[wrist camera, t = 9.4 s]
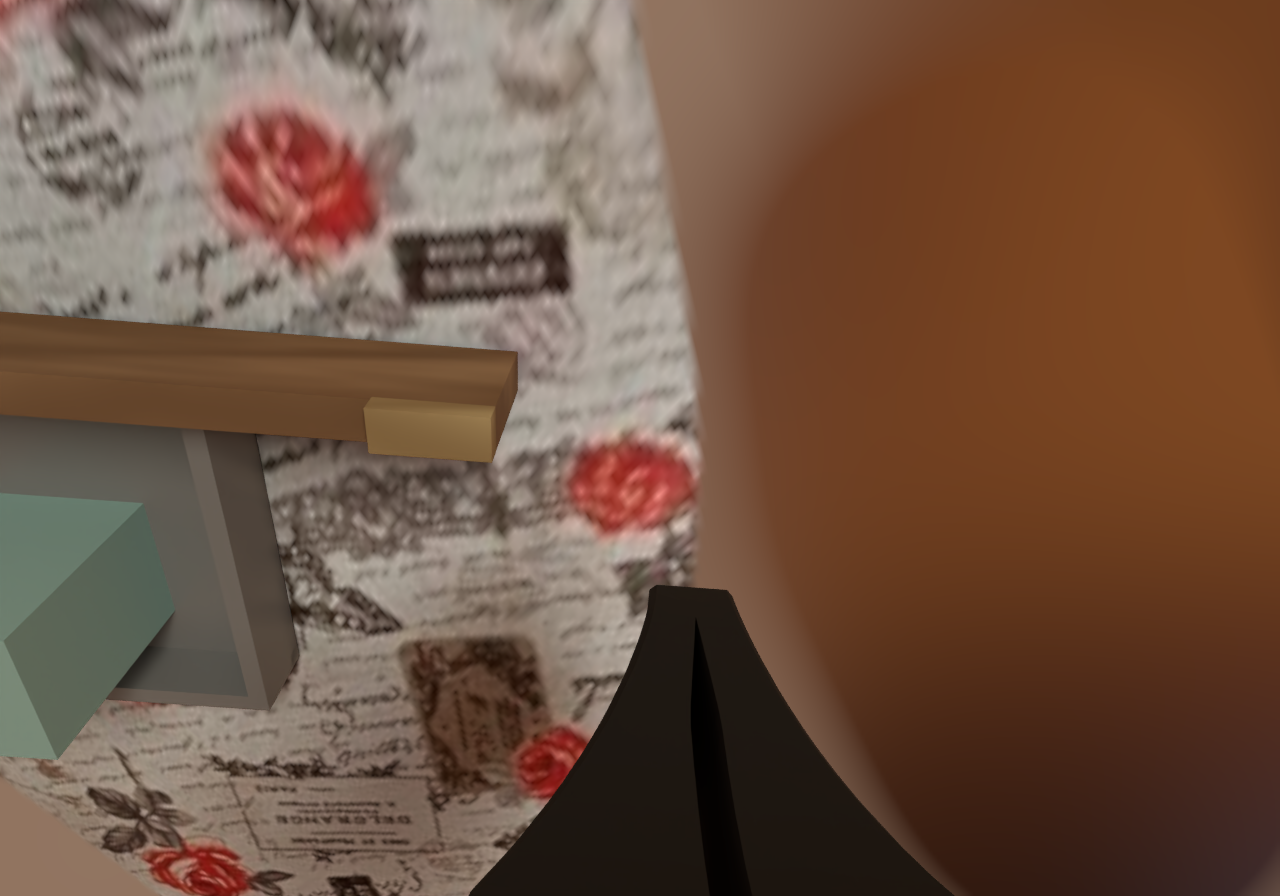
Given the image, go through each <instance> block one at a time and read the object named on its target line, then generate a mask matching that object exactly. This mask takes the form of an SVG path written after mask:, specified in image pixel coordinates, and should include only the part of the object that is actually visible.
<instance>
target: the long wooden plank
mask: <svg viewBox="0 0 1280 896" xmlns="http://www.w3.org/2000/svg"><path fill="white" fill-rule="evenodd" d="M517 391H518V352H514V351H501V350H488V349H475V348H462V347H449V346H436V345H423V344H410V343H397V342H385V341H372V340H359V339H346V338H333V337H320V336H307V335H294V334H281V333H268V332H256V331H243V330H230V329H217V328H204V327H191V326H178V325H165V324H152V323H139V322H127V321H114V320H101V319H88V318H75V317H62V316H49V315H36V314H23V313H10V312H0V414H2V415H15V416H29V417H42V418H55V419H69V420H82V421H95V422H108V423H122V424H135V425H148V426H162V427H175V428H188V429H202V430H215V431H228V432H241V433H255V434H268V435H281V436H295V437H308V438H321V439H335V440H348V441H361V442H367V443H368V452H369V453H370V454H383V455H396V456H410V457H423V458H436V459H450V460H463V461H476V462H490V463H492V461H493V458H494V455H495V453H496V449H497V446H498V444H499V441H500V438H501V435H502V432H503V430H504V427H505V424H506V421H507V419H508V416H509V413H510V410H511V407H512V405H513V402H514V399H515V396H516V394H517Z"/></svg>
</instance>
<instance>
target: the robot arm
mask: <svg viewBox="0 0 1280 896" xmlns="http://www.w3.org/2000/svg"><path fill="white" fill-rule="evenodd" d="M469 896H954V895H953V894H952V893H951V892H950V891H948V890H947V889H946V888H945V887H944V886H943V885H941V884H940V883H939V882H938V881H937V880H936V879H935V878H933V877H932V876H931V875H930V874H929V873H928V872H927V871H926V870H925V869H924V868H923V867H922V866H921V865H920V864H919V863H918V862H917V861H916V860H915V859H914V858H913V857H912V856H911V855H909V854H908V853H907V852H906V851H905V850H904V849H903V848H902V847H901V846H900V845H899V843H898V842H897V841H896V840H895V839H894V838H893V837H892V836H891V835H890V834H889V833H888V831H887V830H886V829H885V828H884V827H883V826H882V825H881V824H880V823H879V822H878V821H877V820H876V819H875V817H874V816H873V815H872V814H871V813H870V812H869V811H868V810H867V809H866V808H865V807H864V806H863V805H862V803H861V802H860V801H859V800H858V799H857V798H856V797H855V795H854V794H853V793H852V792H851V790H850V789H849V788H848V787H847V786H846V784H845V783H844V782H843V781H842V779H841V778H840V777H839V776H838V775H837V773H836V772H835V771H834V770H833V768H832V767H831V766H830V764H829V763H828V762H827V760H826V759H825V758H824V756H823V755H822V754H821V753H820V751H819V750H818V748H817V747H816V746H815V744H814V743H813V742H812V740H811V739H810V737H809V736H808V734H807V733H806V731H805V730H804V729H803V727H802V726H801V724H800V723H799V721H798V720H797V718H796V716H795V715H794V713H793V712H792V710H791V709H790V707H789V706H788V704H787V703H786V701H785V699H784V698H783V696H782V695H781V693H780V691H779V690H778V688H777V686H776V684H775V683H774V681H773V679H772V677H771V675H770V674H769V672H768V670H767V668H766V667H765V665H764V663H763V661H762V660H761V658H760V656H759V654H758V652H757V650H756V648H755V647H754V644H753V642H752V640H751V638H750V636H749V634H748V632H747V630H746V628H745V626H744V623H743V621H742V619H741V617H740V615H739V612H738V610H737V607H736V605H735V603H734V600H733V597H732V595H731V594H730V593H729V592H728V591H727V590H719V589H706V588H692V587H678V586H665V585H656V586H654V587H653V588H651V589H650V590H649V600H648V609H647V614H646V618H645V621H644V625H643V628H642V631H641V634H640V637H639V640H638V643H637V645H636V648H635V650H634V653H633V656H632V658H631V661H630V663H629V666H628V668H627V670H626V673H625V675H624V677H623V679H622V681H621V683H620V685H619V687H618V689H617V691H616V693H615V695H614V698H613V700H612V702H611V704H610V706H609V708H608V710H607V711H606V713H605V715H604V717H603V719H602V721H601V722H600V724H599V726H598V728H597V729H596V731H595V733H594V735H593V736H592V738H591V740H590V741H589V743H588V744H587V746H586V748H585V749H584V751H583V753H582V754H581V756H580V757H579V759H578V760H577V762H576V763H575V765H574V766H573V768H572V769H571V771H570V772H569V774H568V775H567V777H566V778H565V780H564V781H563V783H562V784H561V785H560V787H559V788H558V789H557V791H556V792H555V794H554V795H553V796H552V798H551V799H550V800H549V802H548V803H547V804H546V805H545V807H544V808H543V809H542V810H541V812H540V813H539V814H538V815H537V817H536V818H535V819H534V820H533V822H532V823H531V824H530V825H529V827H528V828H527V829H526V830H525V832H524V833H523V834H522V836H521V837H520V838H519V839H518V840H517V842H516V843H515V844H514V845H513V846H512V847H511V848H510V850H509V851H508V852H507V853H506V854H505V855H504V856H503V857H502V858H501V859H500V860H499V862H498V863H497V864H496V865H495V866H494V867H493V868H492V869H491V870H490V871H489V872H488V873H487V874H486V876H485V877H484V878H483V879H482V880H481V881H480V882H479V883H478V884H477V885H476V886H475V887H474V888H473V890H472V891H471V892H470V894H469Z"/></svg>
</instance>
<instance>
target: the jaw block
mask: <svg viewBox="0 0 1280 896" xmlns="http://www.w3.org/2000/svg"><path fill="white" fill-rule="evenodd" d="M174 611H175V608H174V604H173V601H172V597H171V594H170V591H169V587H168V584H167V581H166V577H165V574H164V571H163V567H162V564H161V561H160V557H159V554H158V551H157V547H156V544H155V541H154V537H153V534H152V531H151V527H150V524H149V521H148V517H147V514H146V511H145V507H144V504H143V503H133V502H119V501H105V500H91V499H77V498H63V497H49V496H35V495H21V494H7V493H0V756H8V757H24V758H39V759H54V760H58V759H59V757H60V756H61V755H62V754H63V752H64V751H65V750H66V748H67V747H68V746H69V745H70V743H71V742H72V741H73V740H74V738H75V737H76V736H77V734H78V733H79V732H80V731H81V729H82V728H83V727H84V726H85V724H86V723H87V722H88V721H89V719H90V718H91V717H92V715H93V714H94V713H95V712H96V710H97V709H98V708H99V707H100V705H101V704H102V703H103V701H104V700H105V699H106V698H107V696H108V695H109V694H110V693H111V691H112V690H113V689H114V687H115V686H116V685H117V684H118V682H119V681H120V680H121V679H122V677H123V676H124V675H125V674H126V672H127V671H128V670H129V668H130V667H131V666H132V665H133V663H134V662H135V661H136V660H137V658H138V657H139V656H140V654H141V653H142V652H143V651H144V649H145V648H146V647H147V646H148V644H149V643H150V642H151V641H152V639H153V638H154V637H155V635H156V634H157V633H158V632H159V630H160V629H161V628H162V627H163V625H164V624H165V623H166V621H167V620H168V619H169V618H170V616H171V615H172V614H173V613H174Z"/></svg>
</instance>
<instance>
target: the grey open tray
mask: <svg viewBox="0 0 1280 896" xmlns="http://www.w3.org/2000/svg"><path fill="white" fill-rule="evenodd" d="M0 493H7V494H21V495H35V496H49V497H63V498H77V499H91V500H105V501H119V502H133V503H143V504H144V507H145V511H146V514H147V517H148V521H149V524H150V527H151V531H152V534H153V537H154V541H155V544H156V547H157V551H158V554H159V557H160V561H161V564H162V567H163V571H164V574H165V577H166V581H167V584H168V587H169V591H170V594H171V597H172V601H173V604H174V608H175V611H174V613H173V614H172V615H171V616H170V618H169V619H168V620H167V621H166V623H165V624H164V625H163V627H162V628H161V629H160V630H159V632H158V633H157V634H156V635H155V637H154V638H153V639H152V641H151V642H150V643H149V644H148V646H147V647H146V648H145V649H144V651H143V652H142V653H141V654H140V656H139V657H138V658H137V660H136V661H135V662H134V663H133V665H132V666H131V667H130V668H129V670H128V671H127V672H126V674H125V675H124V676H123V677H122V679H121V680H120V681H119V682H118V684H117V685H116V686H115V687H114V689H113V690H112V691H111V693H110V694H109V695H108V696H107V698H106V699H108V700H123V701H138V702H152V703H167V704H181V705H196V706H210V707H225V708H239V709H254V710H268V711H270V709H271V707H272V705H273V703H274V702H275V700H276V698H277V696H278V694H279V692H280V691H281V689H282V687H283V685H284V683H285V681H286V680H287V678H288V676H289V674H290V672H291V670H292V669H293V667H294V665H295V663H296V661H297V659H298V658H299V652H298V647H297V642H296V636H295V631H294V626H293V621H292V616H291V611H290V606H289V601H288V596H287V591H286V586H285V581H284V576H283V571H282V566H281V561H280V556H279V551H278V546H277V541H276V536H275V531H274V526H273V521H272V516H271V511H270V506H269V500H268V495H267V490H266V485H265V480H264V475H263V470H262V465H261V460H260V455H259V450H258V445H257V440H256V435H255V433H241V432H228V431H215V430H202V429H188V428H175V427H162V426H148V425H135V424H122V423H108V422H95V421H82V420H69V419H55V418H42V417H29V416H15V415H2V414H0Z"/></svg>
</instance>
